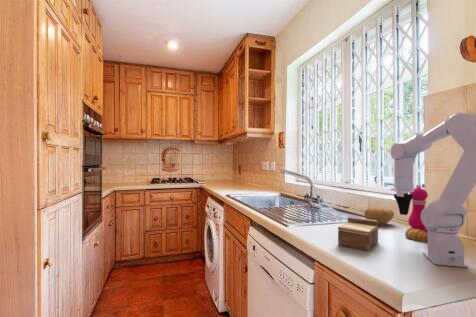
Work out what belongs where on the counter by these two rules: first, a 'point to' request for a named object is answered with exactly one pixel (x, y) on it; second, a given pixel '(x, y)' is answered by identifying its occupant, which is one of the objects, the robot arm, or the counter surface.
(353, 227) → the lid
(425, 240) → the pastry
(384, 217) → the potato
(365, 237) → the keepsake box
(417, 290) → the counter surface
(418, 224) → the pepper mill
